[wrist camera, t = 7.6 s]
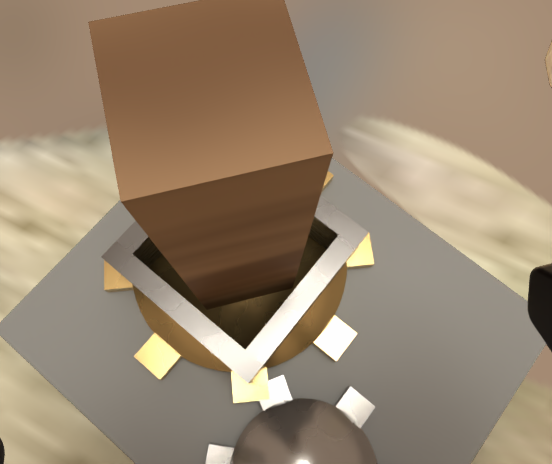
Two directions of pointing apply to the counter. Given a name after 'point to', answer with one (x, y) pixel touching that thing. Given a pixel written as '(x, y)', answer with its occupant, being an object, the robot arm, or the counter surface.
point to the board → (306, 365)
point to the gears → (259, 341)
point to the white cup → (549, 64)
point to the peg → (215, 140)
